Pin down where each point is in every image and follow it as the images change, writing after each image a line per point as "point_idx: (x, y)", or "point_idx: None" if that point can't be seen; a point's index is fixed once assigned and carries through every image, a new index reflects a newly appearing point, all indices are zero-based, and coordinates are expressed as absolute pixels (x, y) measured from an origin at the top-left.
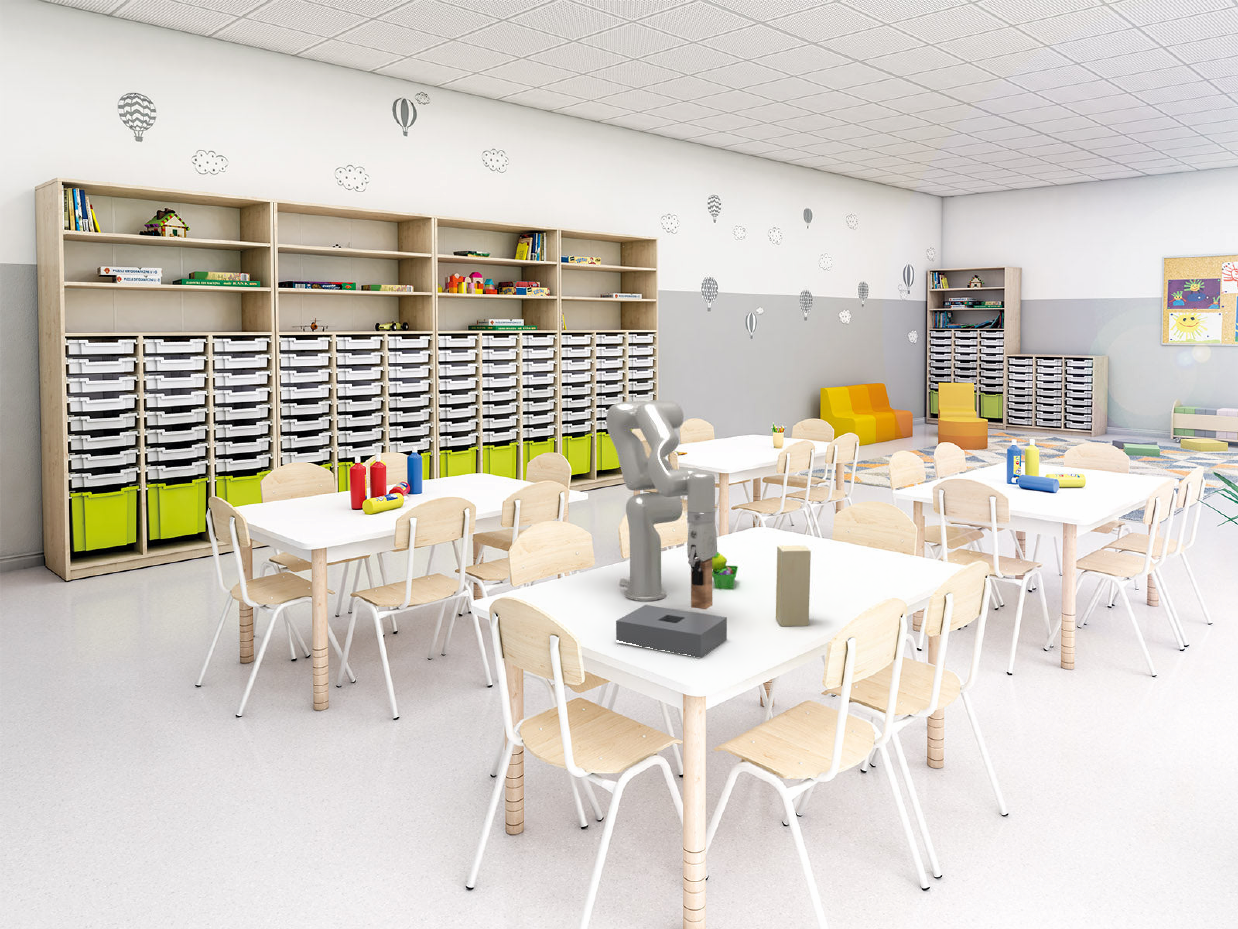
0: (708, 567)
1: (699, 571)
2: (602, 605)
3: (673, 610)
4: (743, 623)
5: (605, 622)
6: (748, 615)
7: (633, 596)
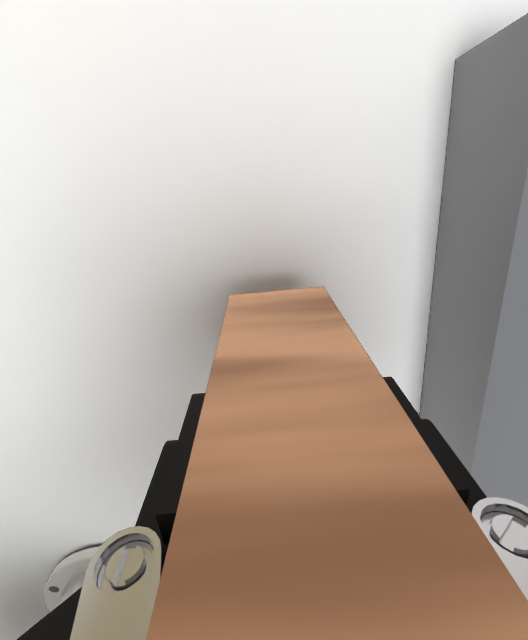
0: (339, 507)
1: (512, 513)
2: None
3: (509, 384)
4: (162, 122)
5: None
6: (28, 169)
7: None
